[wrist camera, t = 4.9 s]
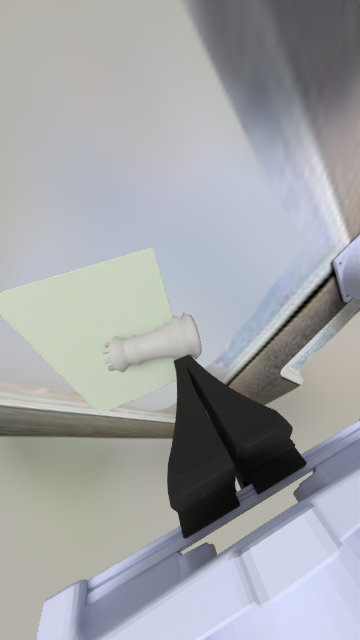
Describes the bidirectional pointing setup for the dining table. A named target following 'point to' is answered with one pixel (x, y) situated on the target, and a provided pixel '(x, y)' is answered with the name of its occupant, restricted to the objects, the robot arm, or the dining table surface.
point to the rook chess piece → (155, 344)
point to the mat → (95, 325)
